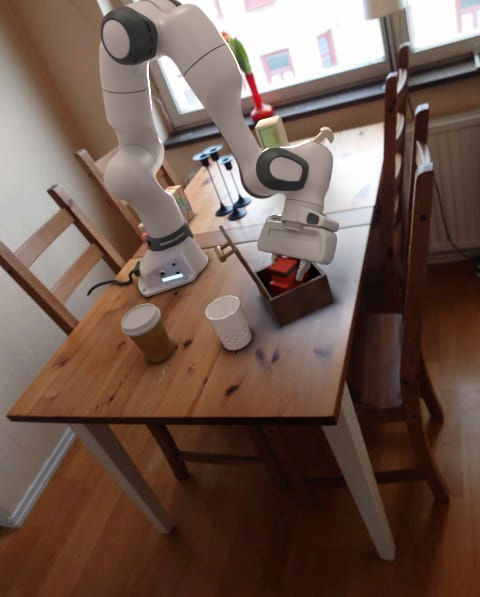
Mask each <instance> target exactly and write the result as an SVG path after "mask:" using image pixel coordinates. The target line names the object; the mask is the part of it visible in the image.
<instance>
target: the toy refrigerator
mask: <svg viewBox="0 0 480 597" xmlns="http://www.w3.org/2000/svg"><path fill="white" fill-rule="evenodd" d="M254 131H255V133H256V137H257V140H258V142H259V147H260V148H261V150H262V151H264V150H266V149H268V148H272V147H291V146H290V144H289V140H288V136H287V133H286V130H285V126H284V123H283V120H282V115H280V114H279V115H275V116H271V117H267V118H264V119H260V120H258V121H257V124H256V125H255V127H254Z"/></svg>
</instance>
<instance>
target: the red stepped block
mask: <svg viewBox="0 0 480 597" xmlns="http://www.w3.org/2000/svg"><path fill="white" fill-rule="evenodd" d="M285 257H286V256H282V257H280V258H279V259H278V260H277V261H276V262H274V263H273V264H272V263H271V264H272V265H271V266H270V267H269V268H268V269H269V272H270V274H271V277H272V279H273V280H272V281H271V282H270V283H269V284H270V287H271V289H272V292H273V295H275V296H277V295H280V294H282V293H284V292H286V291H288V290H290V289H293V288H295V287H297V286H299V285H301V284H303V283H305V282H308V281H310V280H311V279H310V275H309V272H308V270H307V271H306V272H305V274H304V276H303V280H302V281H298V280H295V279H293V276H294V271H295V272H297V271H298V270H299V268H300V267H301V265H299V263H298V260H295V259H290V258H285Z"/></svg>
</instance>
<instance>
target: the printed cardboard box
mask: <svg viewBox="0 0 480 597" xmlns="http://www.w3.org/2000/svg"><path fill="white" fill-rule="evenodd" d="M164 190H165V191H166V192H168V193H171V194H172V195H173V196H174V198H175V200H176V202H177V204H178V207H179V209H180V211H181V213H182V215H183V217H184V218H185V219H186V220H187V222H188V223H189V222H190V221H191V220H192V219H193V218H194V217H195V215H196V214H195V212H194V210H193V208H192V206H191V203H190V201H189V199H188V196H187V194H186V192H185V189H184V188H183V185H182V184H180V185H179V184H178V185H171V186H167V187H166V188H165V189H164ZM137 228H138V230H139V232H140V234H141V235H142V234H143V233H146V234H148V233H147V231H146V229H145V227H144V225H143V223H142V222H141V223H140V224H139V225H138V226H137Z"/></svg>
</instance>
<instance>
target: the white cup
mask: <svg viewBox="0 0 480 597" xmlns="http://www.w3.org/2000/svg"><path fill="white" fill-rule="evenodd" d="M205 316H206V318H207V320H208V322H209V323H210V325H211V327H212V329H213V331H214V332H215V334H216V335H217V337H218V339H219V340H220V342H221V343H222V345H223V347H224V348H225V349H226V350H228V351H238V350H241V349H243V348H244V347H246V346H247V345H248V344H249V343H250V342H251V341H252V336H253V335H252V333H251V330H250V327H249V323H248V319H247V317H246V315H245V311H244V309H243V306H242V304H241V301H240V299H239V297H237V296H235V295H231V294H230V295H222V296H219V297H217V298H215V299H214V300H213V301H211V302H210V303H209V304H208V305H207V306H206V308H205Z"/></svg>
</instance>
